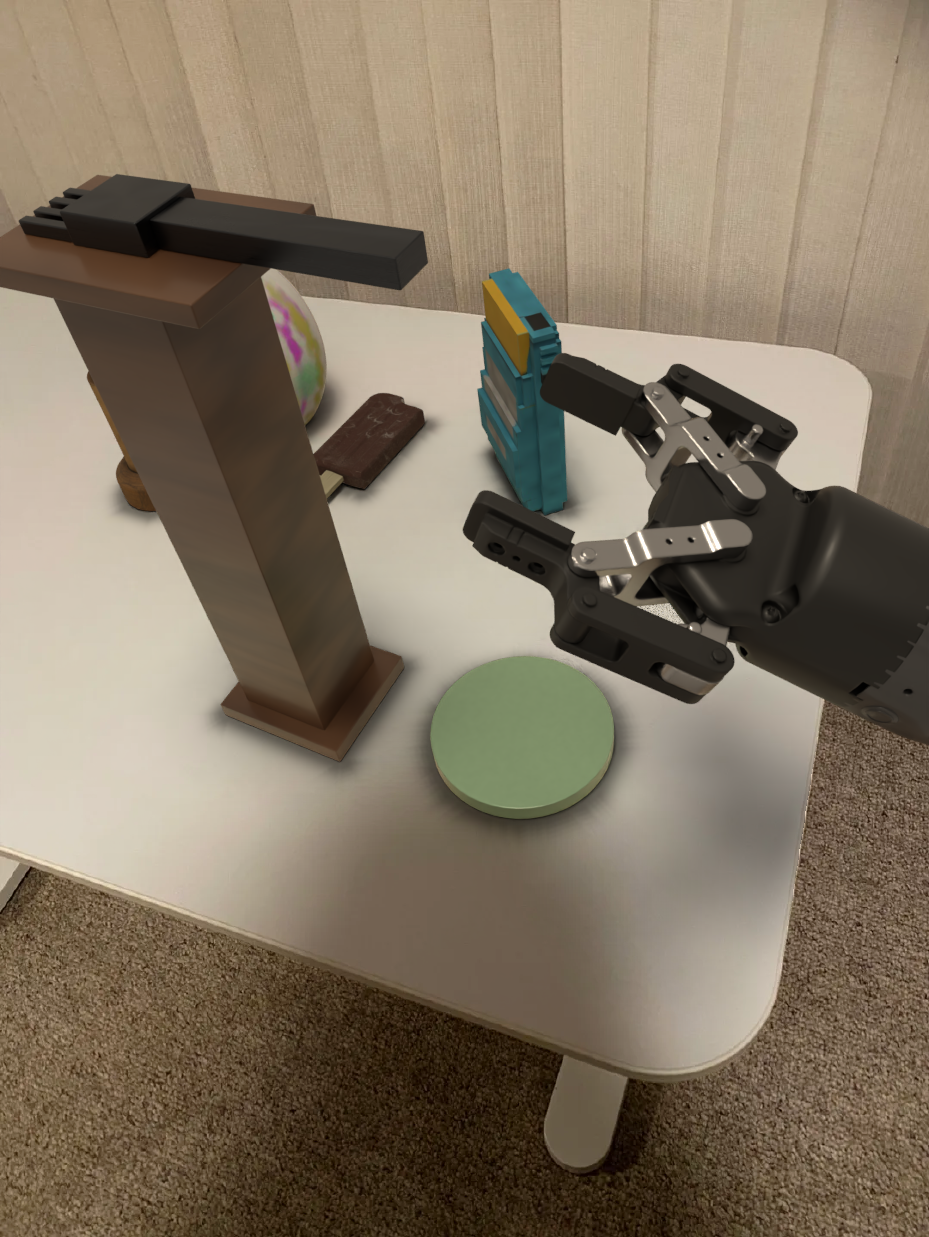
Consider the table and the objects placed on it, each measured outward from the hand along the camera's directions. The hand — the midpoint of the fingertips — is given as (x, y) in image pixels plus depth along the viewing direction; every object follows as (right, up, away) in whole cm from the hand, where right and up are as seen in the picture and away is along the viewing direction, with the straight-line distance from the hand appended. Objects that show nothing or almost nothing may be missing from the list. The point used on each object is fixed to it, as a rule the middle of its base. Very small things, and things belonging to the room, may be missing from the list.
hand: (511, 438), depth 36 cm
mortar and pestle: (-27, +4, +41) cm, 49 cm away
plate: (+2, -14, +20) cm, 25 cm away
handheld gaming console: (+3, +4, +36) cm, 37 cm away
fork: (-11, +8, 0) cm, 14 cm away
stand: (-11, -12, +25) cm, 30 cm away
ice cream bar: (-11, +6, +40) cm, 42 cm away
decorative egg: (-19, +11, +46) cm, 51 cm away
